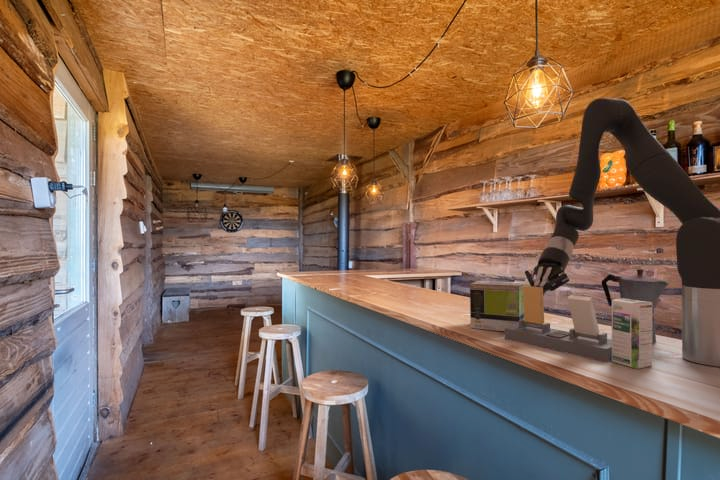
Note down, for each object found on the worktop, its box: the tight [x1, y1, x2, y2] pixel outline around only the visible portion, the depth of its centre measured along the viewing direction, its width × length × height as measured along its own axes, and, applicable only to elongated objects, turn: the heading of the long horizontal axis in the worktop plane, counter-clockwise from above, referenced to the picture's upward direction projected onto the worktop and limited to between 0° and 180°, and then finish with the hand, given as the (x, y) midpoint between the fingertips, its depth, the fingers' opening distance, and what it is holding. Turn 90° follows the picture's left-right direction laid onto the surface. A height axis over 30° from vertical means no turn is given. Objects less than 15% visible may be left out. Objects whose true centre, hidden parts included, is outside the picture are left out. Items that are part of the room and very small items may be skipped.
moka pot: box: [601, 268, 670, 345], centre depth 105 cm, size 10×15×20 cm, turn 53°
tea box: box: [469, 280, 524, 332], centre depth 121 cm, size 15×10×15 cm, turn 58°
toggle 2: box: [567, 294, 600, 340], centre depth 93 cm, size 5×2×12 cm, turn 36°
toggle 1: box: [523, 286, 545, 329], centre depth 105 cm, size 5×2×12 cm, turn 36°
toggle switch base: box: [504, 319, 612, 363], centre depth 100 cm, size 26×10×5 cm, turn 36°
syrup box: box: [611, 298, 653, 370], centre depth 85 cm, size 6×6×14 cm
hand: (535, 299), depth 106 cm, fingers closed
